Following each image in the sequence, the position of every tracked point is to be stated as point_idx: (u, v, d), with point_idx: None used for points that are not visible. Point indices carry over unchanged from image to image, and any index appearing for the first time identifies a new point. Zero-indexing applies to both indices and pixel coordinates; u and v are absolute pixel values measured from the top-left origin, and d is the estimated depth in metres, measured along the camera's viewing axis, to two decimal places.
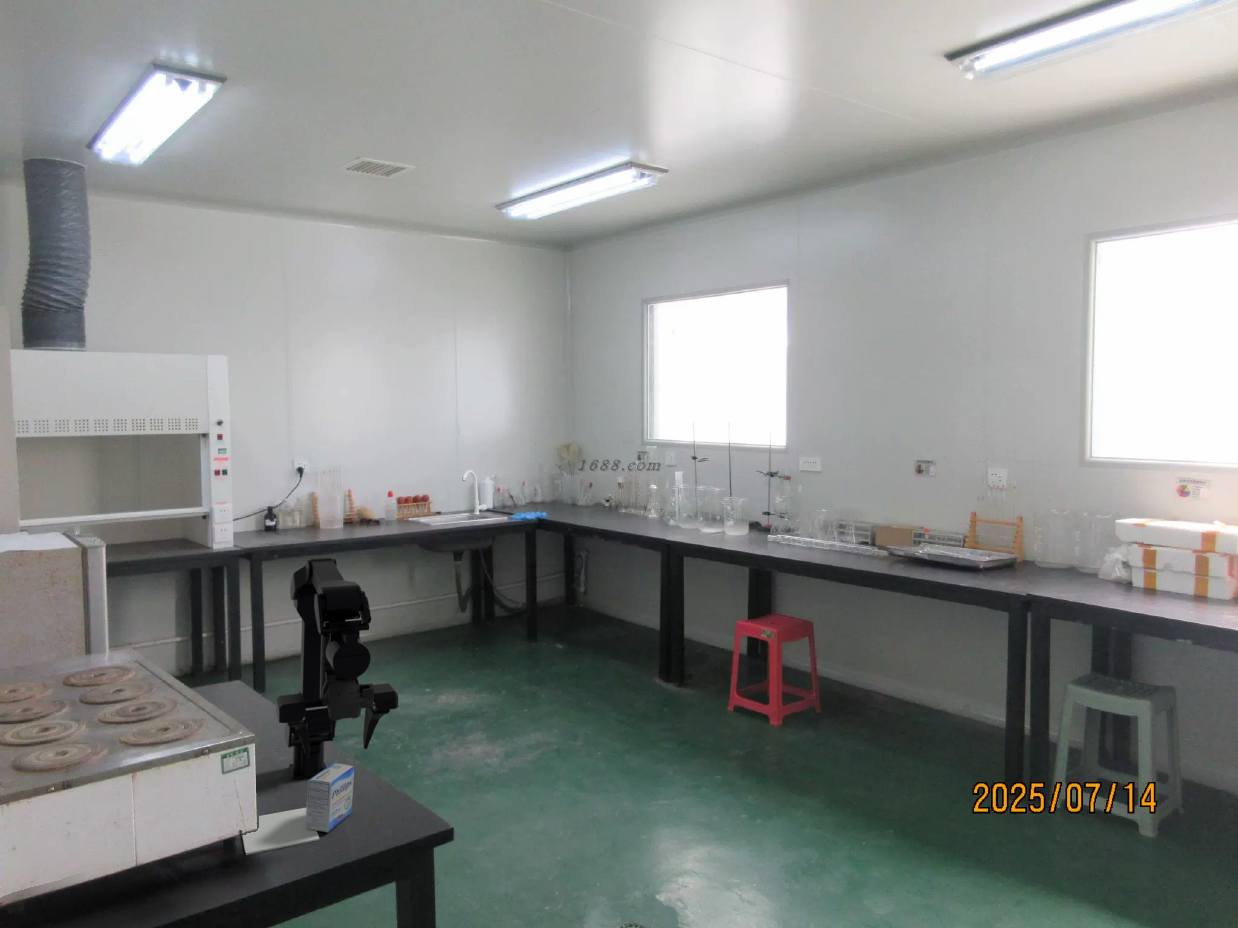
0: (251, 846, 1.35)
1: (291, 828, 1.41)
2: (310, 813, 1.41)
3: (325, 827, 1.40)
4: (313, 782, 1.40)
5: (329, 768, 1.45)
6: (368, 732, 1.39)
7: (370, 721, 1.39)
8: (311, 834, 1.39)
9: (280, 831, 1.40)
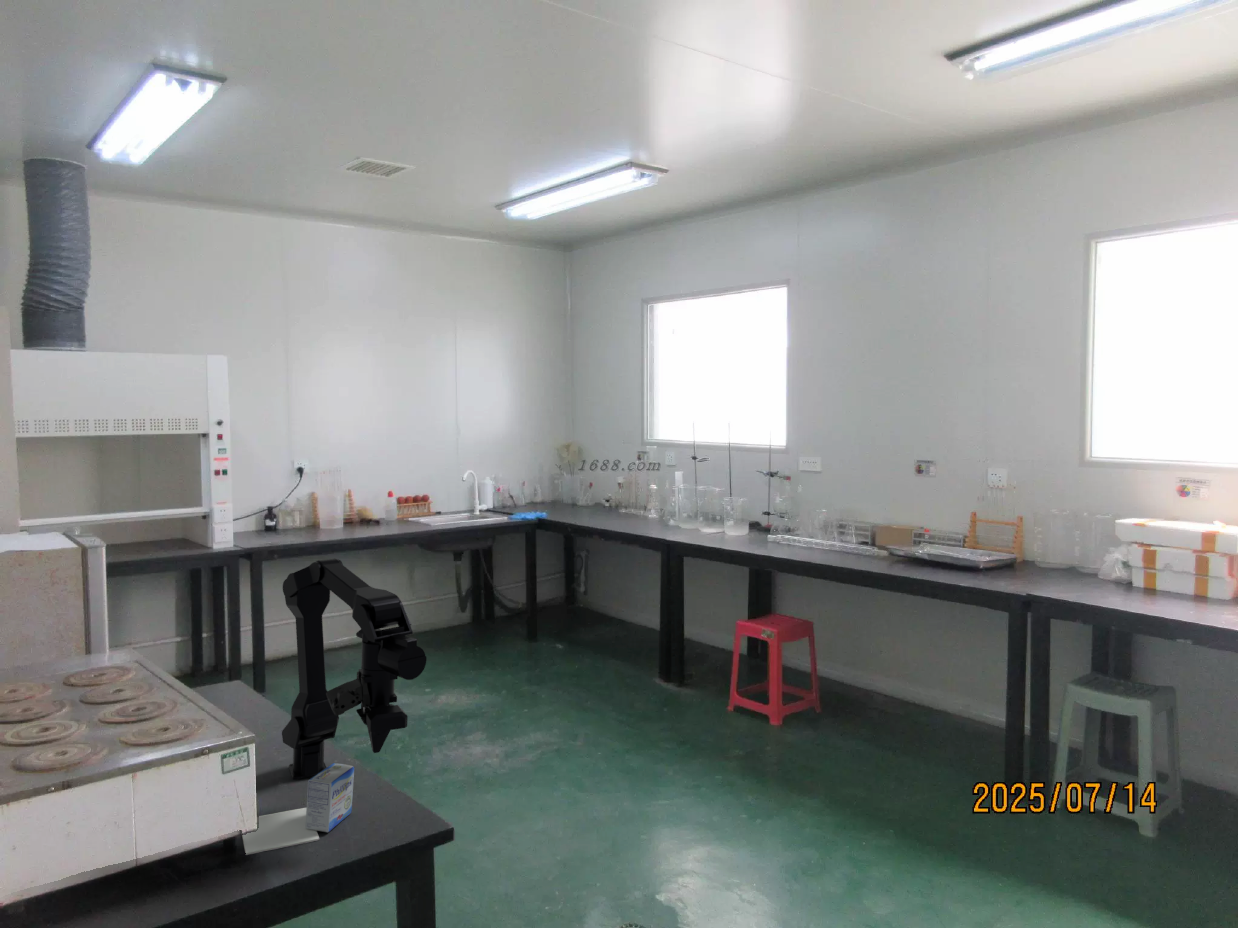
0: (251, 846, 1.35)
1: (291, 828, 1.41)
2: (310, 813, 1.41)
3: (325, 827, 1.40)
4: (313, 782, 1.40)
5: (329, 768, 1.45)
6: (370, 736, 1.47)
7: None
8: (311, 834, 1.39)
9: (280, 831, 1.40)
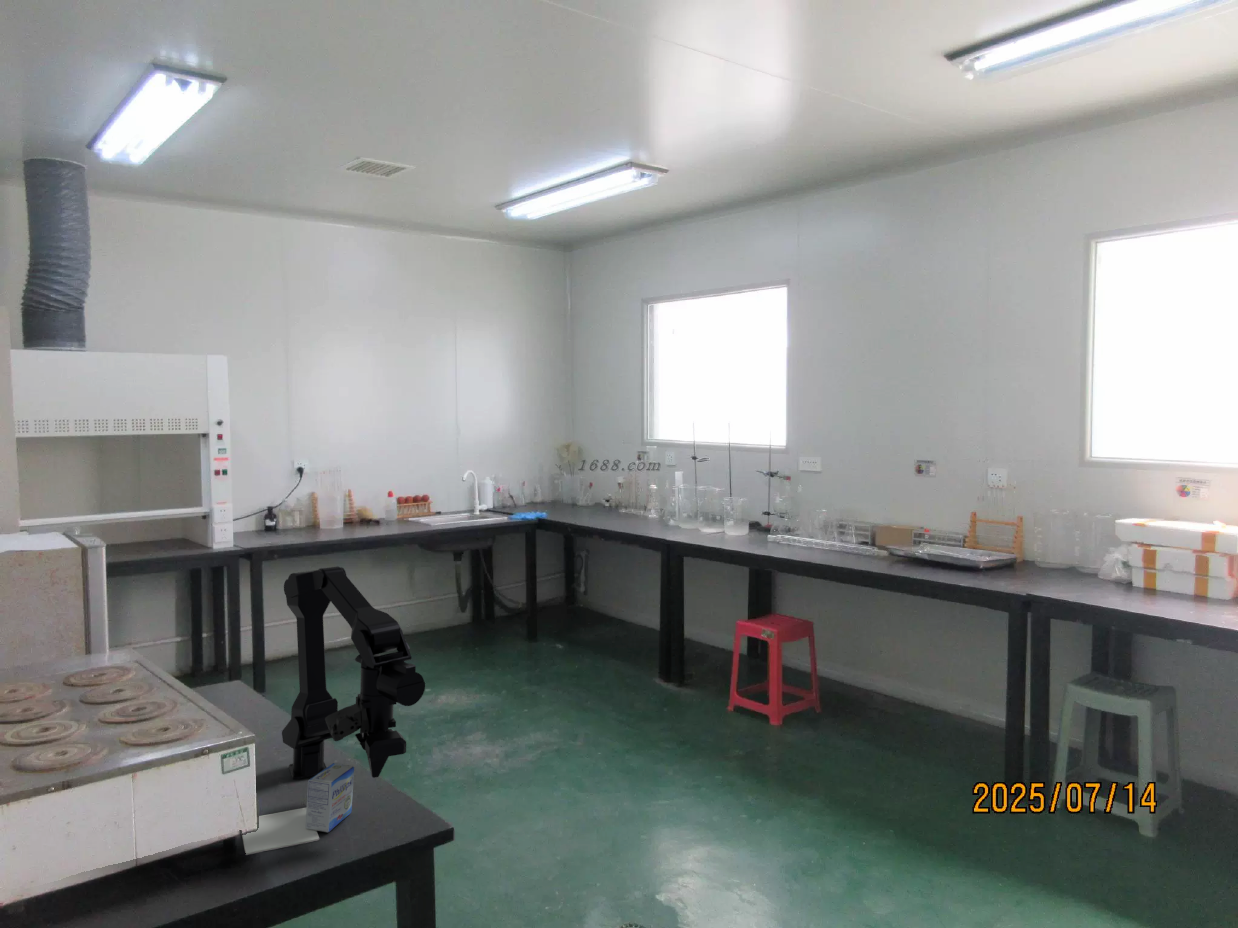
0: (251, 846, 1.35)
1: (291, 828, 1.41)
2: (310, 813, 1.41)
3: (325, 827, 1.40)
4: (313, 782, 1.40)
5: (329, 768, 1.45)
6: (369, 761, 1.47)
7: None
8: (311, 834, 1.39)
9: (280, 831, 1.40)
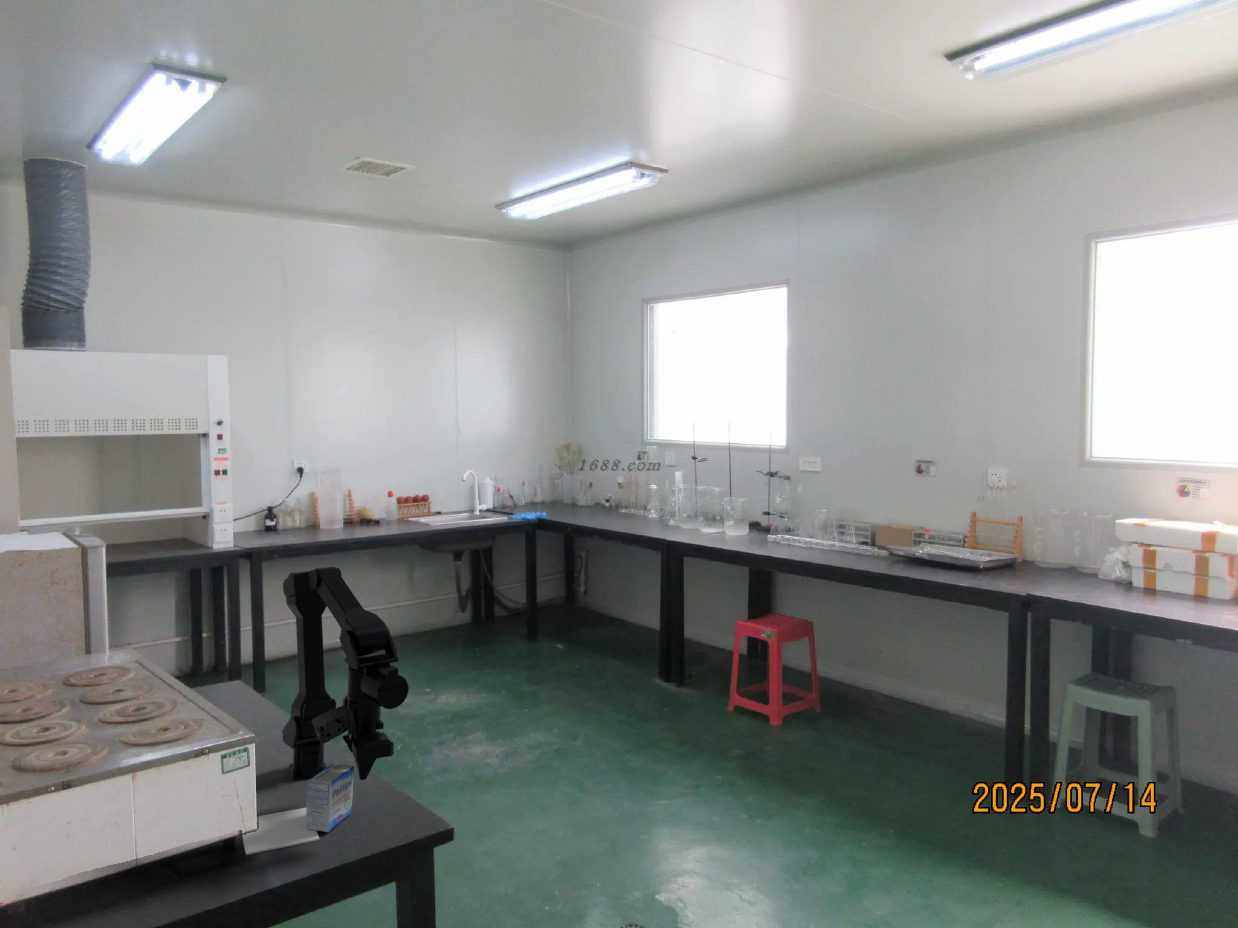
0: (251, 846, 1.35)
1: (291, 828, 1.41)
2: (310, 813, 1.41)
3: (325, 827, 1.40)
4: (313, 782, 1.40)
5: (329, 768, 1.45)
6: (357, 763, 1.46)
7: None
8: (311, 834, 1.39)
9: (280, 831, 1.40)
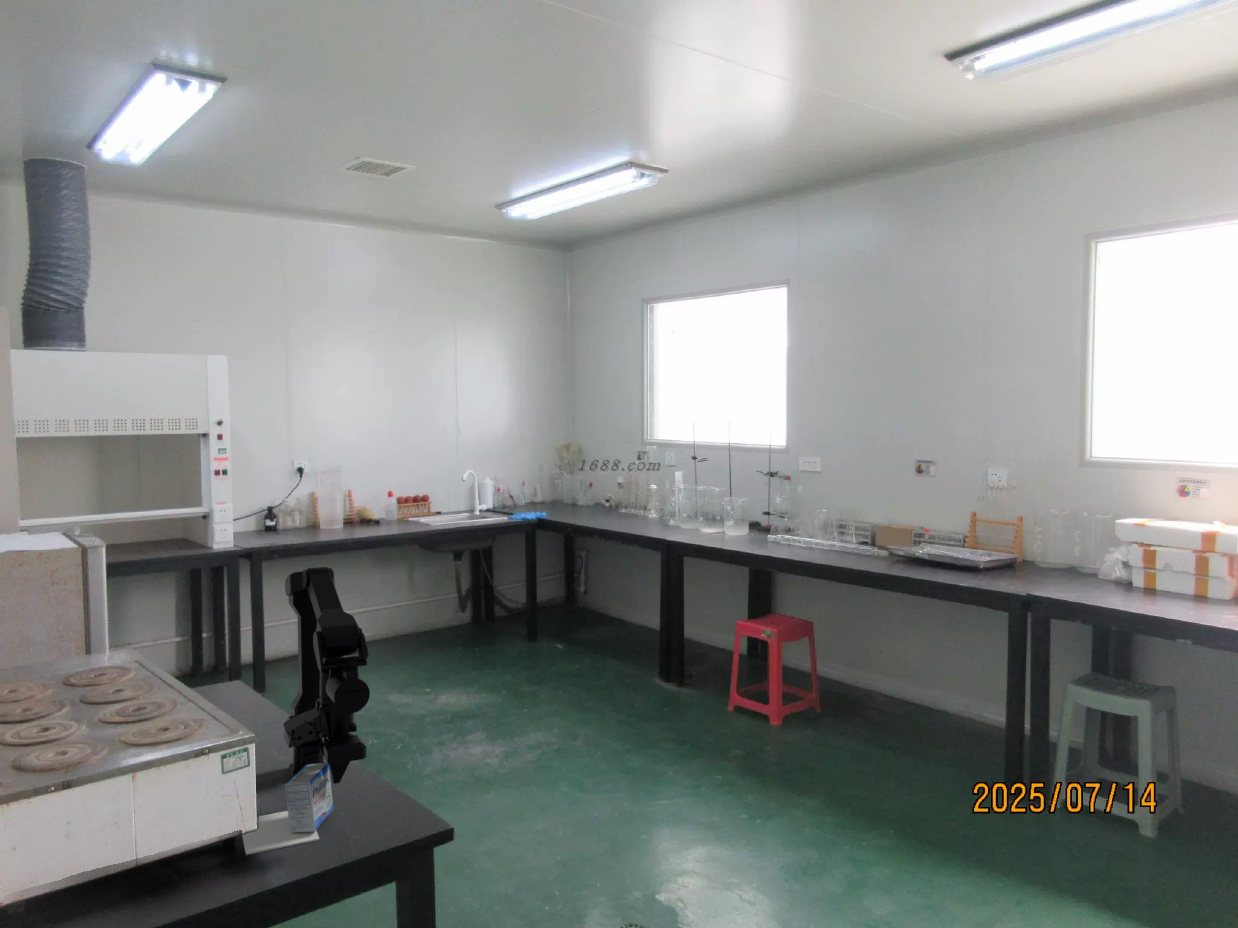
0: (251, 846, 1.35)
1: None
2: (293, 816, 1.39)
3: (311, 826, 1.39)
4: (291, 785, 1.39)
5: (303, 770, 1.44)
6: (330, 767, 1.44)
7: None
8: (311, 834, 1.39)
9: (280, 831, 1.40)
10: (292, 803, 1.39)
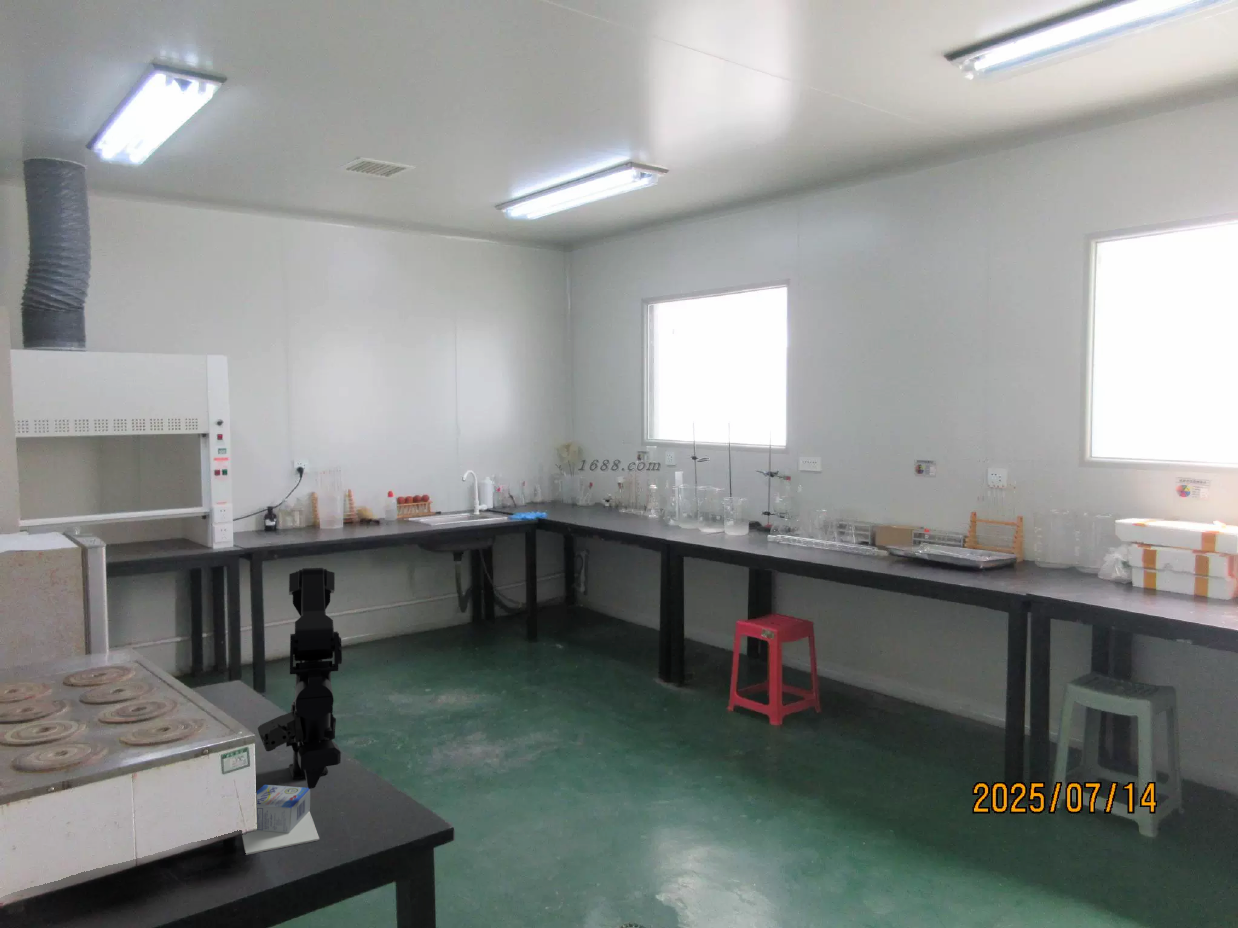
0: (251, 846, 1.35)
1: None
2: (273, 826, 1.39)
3: (285, 810, 1.39)
4: None
5: None
6: (305, 772, 1.42)
7: None
8: (311, 834, 1.39)
9: None
10: (260, 825, 1.40)
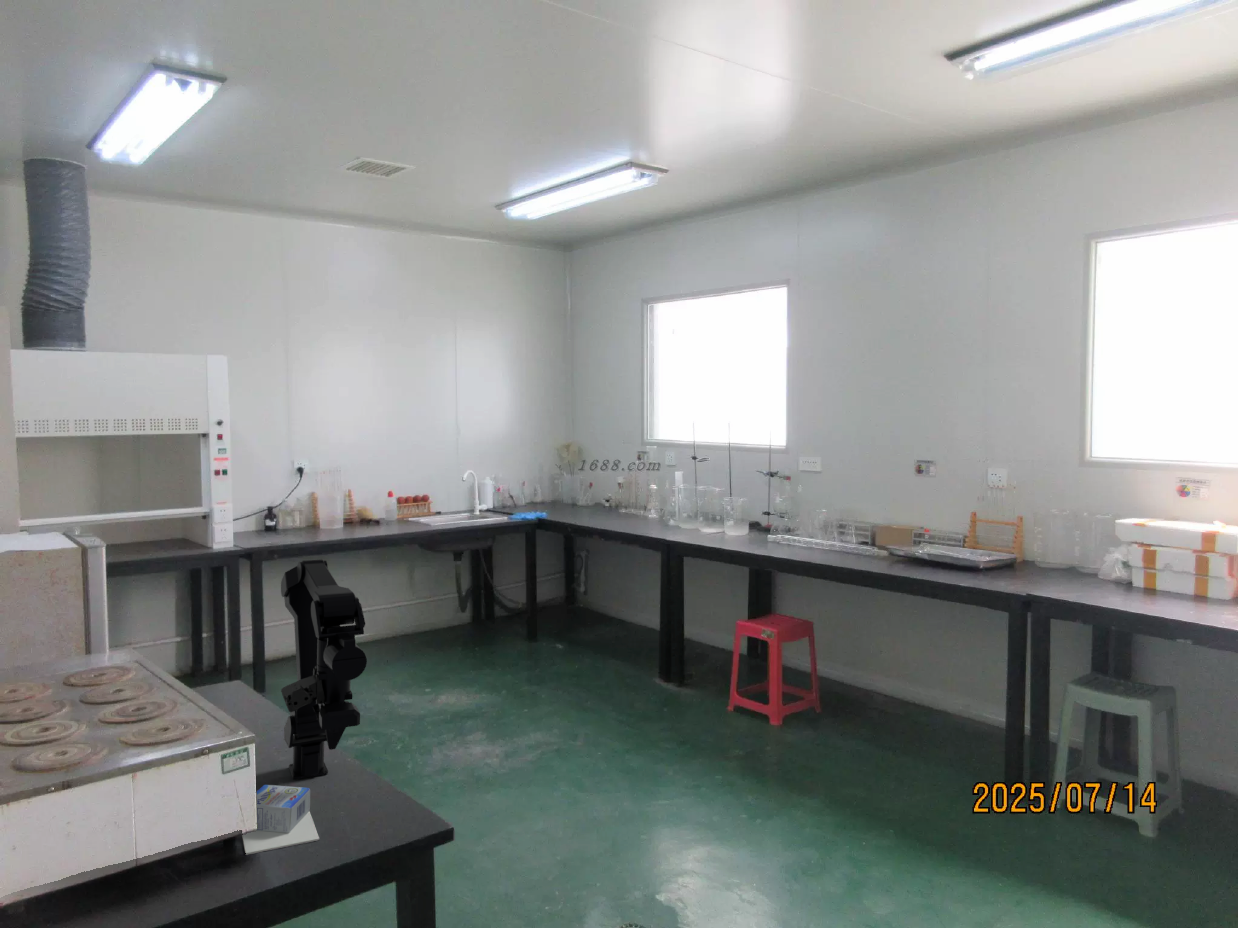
0: (251, 846, 1.35)
1: None
2: (273, 826, 1.39)
3: (285, 810, 1.39)
4: None
5: None
6: (326, 733, 1.47)
7: None
8: (311, 834, 1.39)
9: None
10: (260, 825, 1.40)
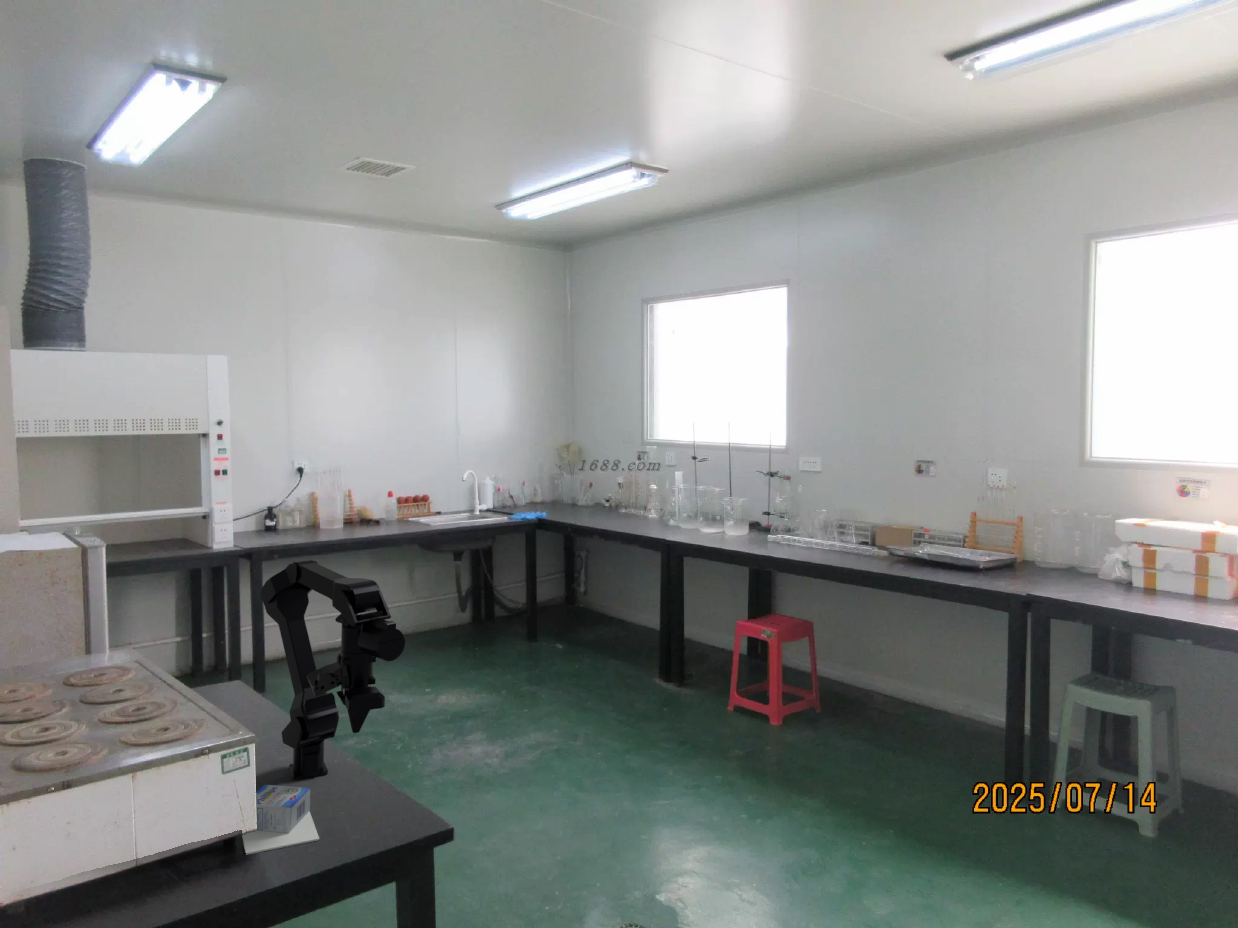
0: (251, 846, 1.35)
1: None
2: (273, 826, 1.39)
3: (285, 810, 1.39)
4: None
5: None
6: (350, 717, 1.53)
7: None
8: (311, 834, 1.39)
9: None
10: (260, 825, 1.40)
